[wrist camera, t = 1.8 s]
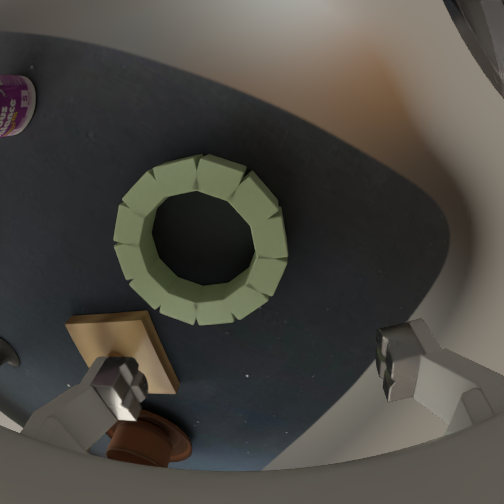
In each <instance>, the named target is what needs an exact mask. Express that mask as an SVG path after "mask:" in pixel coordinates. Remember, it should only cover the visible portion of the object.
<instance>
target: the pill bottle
mask: <svg viewBox="0 0 504 504" xmlns="http://www.w3.org/2000/svg"><path fill="white" fill-rule="evenodd" d="M35 103H36V93H35V88H34V86H33V84H32V82H31V81H30V80H29V79H28V78H27V77H24V76H17V75H0V138H1V137H6V136H11V135H15V134H18V133H20V132H21V131H22V130H23V129H24V128H25V127H26V126H27V124H28V123H29V121H30V120H31V118H32V115H33V113H34V109H35Z"/></svg>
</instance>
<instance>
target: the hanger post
mask: <svg viewBox="0 0 504 504" xmlns="http://www.w3.org/2000/svg"><path fill="white" fill-rule="evenodd" d="M65 326H66V328H67V330H68V331H69V333H70V335H71V337H72V339H73V341H74V343H75V344H76V346H77V348H78V350H79V352H80V353H81V355H82V357H83V358H84V360H85V362H86V364H87V365H88V367H89V368H90V367H91V365H92V364H93V362H94V361H95V359H96V358H97V357H100V356H103V357H110V356H112V357H133V358H135V359H136V361H137V362H138V364H139V367H138V370H139V371H141V372H142V373H143V374H144V375H145V377H146V379H147V382H148V393H153V394H177V391H178V388H179V385H180V383H179V381H178V379H177V377H176V374H175V372H174V370H173V368H172V366H171V364H170V362H169V359H168V357H167V355H166V353H165V351H164V348H163V346H162V344H161V342H160V339H159V337H158V335H157V332H156V330H155V328H154V325H153V323H152V320H151V318H150V316H149V313H148V311H147V310H145V311H134V312H121V313H107V314H93V315H76V316H71V317H70V318H69V320H68V321H67V322H66V323H65ZM89 449H90V448H89ZM89 449H88V450H87V452H88V451H89Z"/></svg>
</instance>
